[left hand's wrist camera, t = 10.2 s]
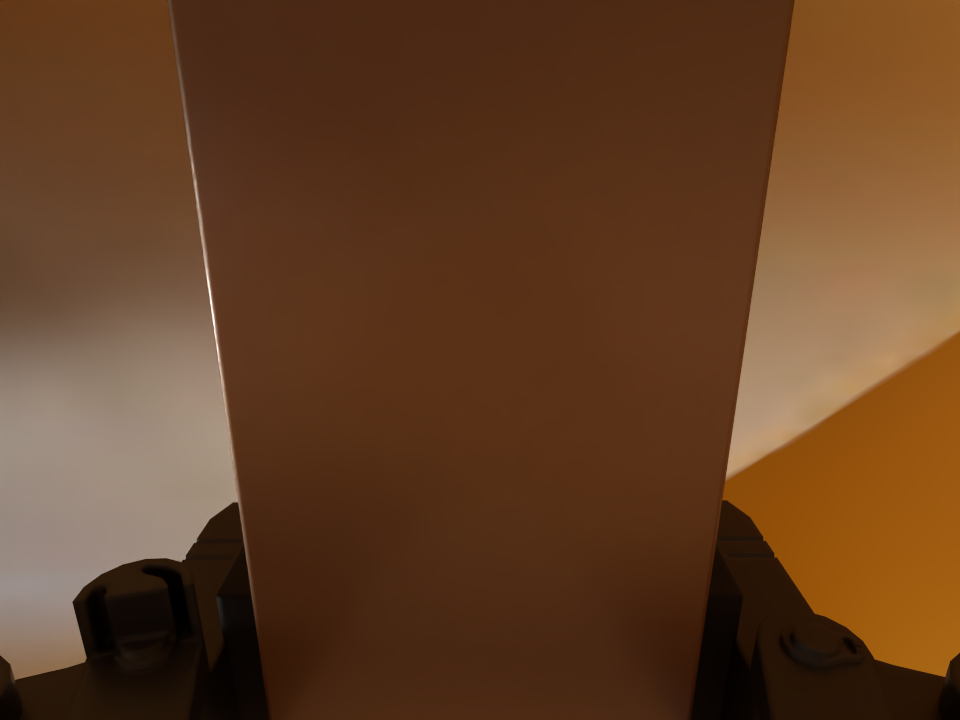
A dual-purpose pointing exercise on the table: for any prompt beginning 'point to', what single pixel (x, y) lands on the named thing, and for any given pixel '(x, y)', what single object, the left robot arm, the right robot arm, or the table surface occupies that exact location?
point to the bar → (480, 336)
